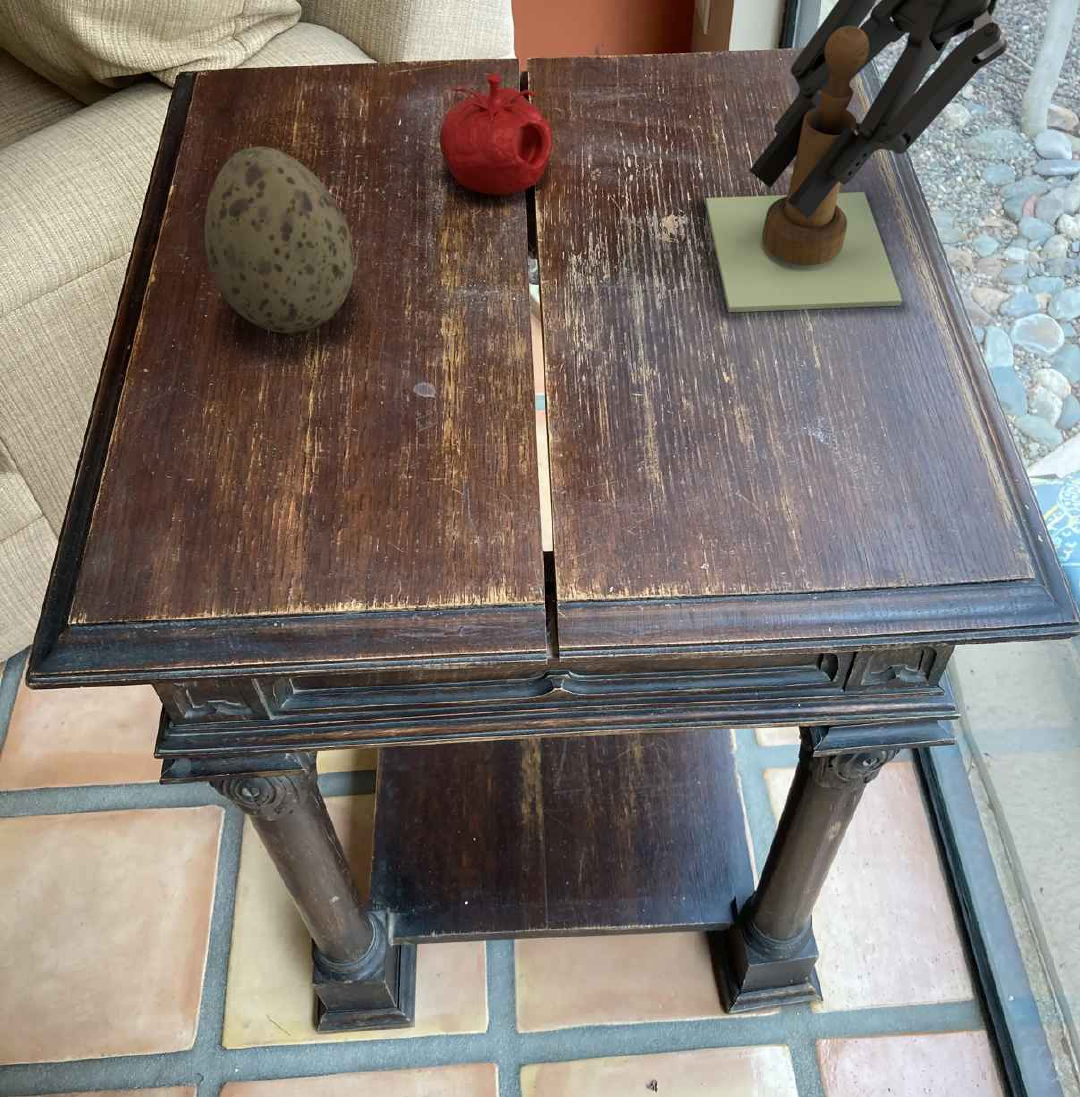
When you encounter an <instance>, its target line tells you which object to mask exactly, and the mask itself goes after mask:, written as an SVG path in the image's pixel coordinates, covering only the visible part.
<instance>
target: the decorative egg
mask: <svg viewBox="0 0 1080 1097" xmlns="http://www.w3.org/2000/svg"><path fill="white" fill-rule="evenodd" d="M204 242H205V243H204V244H205V251H206V257H207V261H208V262H207V263H208V266H209V269H210V272H211V275H212V277H213V279H214V282H215V284H216V286H217V288H218V289H219V292H220V293H221V295H222V296H223V297H224V299H225V300H226V302H227V303H228V304H229V305H230V306H231V307H232V309H234V310H235V312H237V313H238V314H239V315H240V316H242V317H243V318H244V319H245V320H247V321H248V322H250V323H252V324H253V325H255V326H258V327H259V328H262V329H265V330H267V331H270V332H275V333H282V334H297V333H303V332H307V331H310V330H313V329H315V328H318V327H319V326H321V325H324V323H325V322H327V321H329V320H330V319H331V318H332V317H333V316H334V315H335V314H336V313H337V312H338V310H339V309H340V308H341V306H342V305H343V304H344V302H345V300H346V299H347V296H348V295H349V292H350V290H351V287H352V282H353V280H354V273H355V252H354V251H355V249H354V244H353V239H352V235H351V232H350V228H349V225H348V223H347V221H346V218H345V216H344V214H343V212H342V210H341V208H340V207H339V205H338V203H337V201H336V200H335V198H334V197H333V196H332V194H331V193H330V191H329V190H328V188H327V187H326V186H325V185H324V184H323V182H322V181H321V180H320V179H319V178H318V177H317V176H316V175H315V174H314V173H313V172H312V171H311V170H310V169H309V168H307V167H306V166H305V165H304V164H302V163H301V162H300V161H299V160H297V159H295V158H294V157H292V156H291V155H289V154H287V153H285V152H283V151H281V150H278V149H276V148H273V147H268V146H250V147H247V148H243V149H242V150H239V151H238V152H236V153H235V154H233V156H231V158H229V159H228V160H227V161H226V162H225V164H224V165H223V166H222V167H221V170H220V171H219V173H218V174H217V176H216V178H215V179H214V182H213V184H212V187H211V190H210V193H209V197H208V200H207V205H206V211H205V218H204Z"/></svg>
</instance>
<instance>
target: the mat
mask: <svg viewBox="0 0 1080 1097" xmlns="http://www.w3.org/2000/svg"><path fill="white" fill-rule="evenodd" d="M787 195H788V194H779V195H778V194H777V195H776V194H775V195H749V196H748V195H747V196H725V197H724V196H722V197H706V198H705V201H704V202H705V203H704V204H705V209H706V213H707V219H708V223H709V228H710V229H709V230H710V232H711V233H710V234H711V237H712V242H713V247H714V251H715V256H716V262H717V266H718V271H719V275H720V276H719V277H720V280H721V285H722V289H723V295H724V299H725V304H726V309H727V312H728V313H745V312H746V313H747V312H748V313H749V312H771V311H774V312H775V311H798V310H799V311H800V310H801V311H803V310H823V309H825V310H826V309H827V310H828V309H846V308H847V309H848V308H849V309H850V308H851V309H852V308H873V307H874V308H875V307H876V308H879V307H900V306H901V305H902V303H903V299H902V296H901V292H900V289H899V287H898V285H897V282H896V279H895V276H894V272H893V270H892V267H891V265H890V264H891V263H890V262H889V258H888V256H887V253H886V251H885V246H884V244H883V241H882V239H881V236H880V233H879V229H878V227H877V225H876V221H875V218H874V216H873V212H872V211H871V207H870V205H869V202H868V199H867V197H866V193H865V192H864V191H858V192H839V193H838V197H837V201H836V205H837V206H838V207H839V208H840V209H841V210H842V211H843V212H844V214H845V216H846V218H847V230H846V234H845V238H844V242H843V246H842V249H841V251H840V253H839V254H838V255H837V256H836V257H835V258H833V259H832V260H830V261H828V262H825V263H822V264H818V265H798V264H795V263H791V262H786V261H784V260H781V259H779V258H777V257H776V256H774V255H773V254H772V253H771V252H770V251H769V250H768V249H767V248H766V246H765V245H764V242H763V238H762V233H763V228H764V223H765V219H766V214H767V211H768V209H769V207H770V206H771V205H772V204H773V203H774V202H775V201H777V200H779V199H781V198H783V197H786V196H787Z"/></svg>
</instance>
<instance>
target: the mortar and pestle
mask: <svg viewBox="0 0 1080 1097" xmlns="http://www.w3.org/2000/svg"><path fill="white" fill-rule="evenodd" d="M868 52H869V41H868V38H867V36H866V34H865V33H864V31H862V30H861V29H860V27H855V26H844V27H841V28H839V29H837V30H836V31H834V32H833V33H832V35H831V36H830V37H829V39H828V41H827V43H826V46H825V60H826V63H827V66H828V69H829V71H830V81H829V83H827V84H825V85H824V86H823V87H822V91H821V106H820V107H816V108H813V109H811V110H809V111H808V112H807V113H806V114H805V116H804V120H803V125H802V130H801V135H800V140H799V145H798V150H797V154H796V156H795V158H794V159H795V160H794V163H793V169H792V174H791V177H790V183H789V187H788V191H787V194H786V195H787V196H786V197H783V198H781V199H779V200H777V201H775V202H774V203H773V204H772V205H771V206H770V207H769V209H768V211H767V214H766V219H765V223H764V228H763V233H762V238H763V242H764V245H765V246H766V248H767V249H768V250H769V251H770V252H771V253H772V254H773V255H774V256H776V257H777V258H779V259H781V260H784V261H786V262H791V263H795V264H798V265H818V264H822V263H825V262H828V261H830V260H832V259H833V258H835V257H836V256H837V255H838V254H839V253H840V251H841V249H842V246H843V242H844V238H845V234H846V230H847V218H846V216H845V214H844V212H843V211H842V210H841V209H840V208H839V207H838V206H837V205H836V201H837V197H838V193H840V190H841V186H842V184H841V183H840V182H839V181H838V183H837V184H836V185H835V186H834V188H833V189H832V190H831V191H830V192H829V194H828V195H827V196H826V197H825V199H824V200H823V201H822V202H821V204H820V205H819V206H818V207H817V208H816V210H815V211H814V212H813V213H812V215H811V216H810V217H809V218H807V217H805V216H804V215H803V214H802V213H801V212H799V211H798V210H797V209H796V208H795V207H793V206H792V205H791V204H790V203H789V202H787V201H788V200H789V199H790V197H791V196H792V195H793V194H794V192H795V191H796V190H797V189H798V187H799V186H800V185H801V184H802V182H803V181H804V180H805V179H806V177H807V176H808V175H809V174H810V172H811V171H812V170H813V169H814V167H815V166H816V165H817V164H818V162H819V161H820V160H821V159H822V157H823V156H824V155H825V154H826V152H827V151H828V150H829V149H830V147H831V146H832V145H833V144H834V142H835V141H836V140H837V139H838V137H839V136H840V135H841V134H842V132H843V131H844V130H845V129H846V127H848V128H849V129H850V130H852V131H853V132H854V133H855V132H856V130H855V128H854V127H855V122H857V123H858V121H857V118H856V116H855V115H854V114H853V113H852V112H850V111H849V110H848V107H849V106H850V103H851V101H852V98H853V95H854V90H853V88H852V87H851V86H850V83H851V81H850V79H851V77H852V76H853V75H854V73H855V72H856V71H857V70H858V69H859V68H860V67H861V66H862V65H863V63H864V62H865V60H866V58H867V56H868Z"/></svg>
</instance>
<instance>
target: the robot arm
mask: <svg viewBox="0 0 1080 1097" xmlns="http://www.w3.org/2000/svg"><path fill="white" fill-rule="evenodd" d="M876 2H877V0H837V1H836V3H835V5H834V6H833V7H832V9H831V10H830V11H829V13H828V15H827V16H826V17H825V19H824V20H823V22H821V24H820V25H819V27H818V28H817V30H816V31H815V33H814V34H813V36H812V37H811V38H810V39H809V41H808V43H807V44H806V45H805V47H804V48H803V50H802V51H801V53H800V54H799V55H798V57H797V58H796V59H795V61H794V62H793V63H792V65H791V67H790V74H791V75H792V76H793V78H794V79H795V81H796V83H797V85H798V88H799V90H798V94H797V95H796V98H795V99H794V100H793V101H792V102H791V104H790V105H789V106H788V108H787V109H786V110H785V112H784V113H783V114H782V115H781V117H780V118H779V119H778V120H777V122H776V123H775V126H774V128H773V132H775V133H776V135H775V137H774V138H773V139H772V141H771V142H770V143H769V144H768V145H767V146H766V148H765V150H763V152H762V153H761V154H760V155H759V157H758V158H757V160H756V161H755V162H754V164H753V165H752V166H751V167H750V169H749V170H748V171H749V172H750V173H751V174H752V175H753V176H755V177H756V178H757V179H758V180H760V181H761V182H762V183H763V184H764V185H765V186H767V187H768V188H769V189H771V188H772V187H773V186H774V184H775V183H776V182H777V181H778V179H779V178H780V177H781V176H782V174H783V173H784V172H785V171H786V170H787V168H788V167H789V165H790V164H791V163H792V161H793V160H794V159H796V154H797V150H798V145H799V140H800V135H801V130H802V125H803V120H804V116H805V114H806V113H807V112H808V111H809V110H811V109H813V108H816V107H820V106H821V91H822V87H823V86H824V85H825V84H827V83H829V81H830V71H829V69H828V66H827V63H826V60H825V46H826V43H827V41H828V39H829V37H830V36H831V35H832V33H833V32H834V31H836V30H837V29H839V28H841V27H844V26H855V27H858V28H860V29H861V30H862V31H864V33H865V34H866V36H867V38H868V41H869V52H868V56H867V58H866V60H865V62H864V63H863V65H862V66H861V67H860V68H859V69H858V70H857V71H856V72H855V73H854V75H853V76H852V77H851V79H850V82H851V81H852V80H853V79H854V78H855V77H856V76H857V75H858V74H859V73H861V72H862V70H864V68H866V67H867V66H868V65H869V64H870V63H871V62H872V61H873V60H874V59H875V58H876V57H877V56H878V55H879V54H880V53H881V52H882V51H883V50H884V49H885V48H886V47H887V46H889V45H890V44H892V43H896V42H898V41H899V40H900V39H902V37H903V36H905V35H906V34H908V36H907V39H906V45H905V47H904V49H903V51H902V52H901V54H900V55H899V58H898V59H897V60H896V62H895V64H894V66H893V68H892V69H891V71H890V73H889V75H888V77H887V78H886V79H885V81H884V83H883V85H882V87H881V88H880V90H879V92H878V93H877V95H876V97H875V98H874V100H873V102H872V104H871V106H870V107H869V109H868V111H867V112H866V114H865V116H864V118H863V119H862V121H861V122H860V123H859V122H858V121H857V122H855V127H854V128H855V132H856V133H857V134H856V133H855V132H853V131H852V130H850V129H849V128H848V127H846V129H845V130H844V131H843V132H842V134H841V135H840V136H839V137H838V139H837V140H836V141H835V142H834V144H833V145H832V146H831V147H830V149H829V150H828V151H827V152H826V154H825V155H824V156H823V157H822V159H821V160H820V161H819V162H818V164H817V165H816V166H815V167H814V169H813V170H812V171H811V172H810V174H809V175H808V176H807V177H806V179H805V180H804V181H803V182H802V184H801V185H800V186H799V187H798V189H797V190H796V191H795V192H794V194H793V195H792V196H791V197H790V199H789V200H788V201H787V202H789V203H790V204H791V205H792V206H793V207H795V208H796V209H797V210H798V211H799V212H801V213H802V214H803V215H804V216H805V217H807V218H809V217H810V216H811V215H812V213H813V212H814V211H815V210H816V208H817V207H818V206H819V205H820V204H821V202H822V201H823V200H824V199H825V197H826V196H827V195H828V194H829V192H830V191H831V190H832V189H833V188H834V186H835V185H836V184H837V183H838V181H839V182H840V183H841V185H843V186H844V185H846V184H848V183H849V182H851V181H852V179H853V178H854V177H855V176H856V174H857V173H858V172H859V170H860V169H861V168H862V167H863V166H864V165H865V164H866V162H867V161H868V160H869V158H870V157H871V156H872V155H873V154H874V153H876V152H877V151H879V150H886V151H890V152H894V154H895V155H902V154H905V153H906V152H907V150H908V149H910V147H911V146H912V145H913V144H914V142H916V141H917V140H918V139H919V138H920V136H921V135H922V134H923V133H924V132H925V131H926V130H927V128H928V127H929V126H930V125H931V124H932V123H933V122H934V120H935V119H936V118H937V117H938V116H939V115H940V114H941V113H942V112H943V111H944V109H945V108H946V107H947V106H948V105H949V104H950V103H951V101H952V100H953V99H954V98H955V97H956V96H957V94H959V92H960V91H961V90H962V89H963V88H964V87H965V86H966V85H967V84H968V82H969V81H970V80H971V79H972V78H973V77H974V76H975V74H976V73H977V72H978V71H979V70H981V69H982V68H983V67H986V65H988V64H990V63H991V62H992V61H994V60H995V59H997V58H999V57H1000V56H1002V55H1003V54H1004V53H1005V52H1006V51H1007V49H1008V45H1009V44H1008V41H1007V39H1006V37H1005V36H1004V34H1003V32H1002V30H1001V28H1000V27H999V25H998V24H997V22H994V20H993V19H992V15H993V14H994V12H995V8H996V5H997V2H998V0H879V2H878V3H876ZM875 4H876V5H875ZM874 5H875V6H874ZM868 14H870V16H869V17H868V18H867V19H866V17H867V16H868ZM865 19H866V20H865ZM864 20H865V21H864ZM863 22H864V23H863ZM965 32H966V34H965V37H964V39H963V40H962V41H960V42H959V43H958V45H956V46H955V47H954V48H953V49H952V50H951V52H949V53H948V55H947V56H946V57H945V58H944V59H943V60H942V62H941V63H940V64H939V65H938V66H937V67H936V69H935V70H933V72H932V73H931V74H930V75H929V77H928V78H927V79H926V80H925V81H924V82H923V84H922V81H923V80H924V78H925V77H926V75H927V74H928V72H929V70H930V68H931V67H932V66H933V65H935V64H936V63H938V61H939V60H940V58H941V56H942V55H943V53H944V51H946V50H945V49H946V48H947V47H948V45H949V43H950V42H951V40H952V38H955V37H957V36H959V35H961V34H963V33H965Z"/></svg>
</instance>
